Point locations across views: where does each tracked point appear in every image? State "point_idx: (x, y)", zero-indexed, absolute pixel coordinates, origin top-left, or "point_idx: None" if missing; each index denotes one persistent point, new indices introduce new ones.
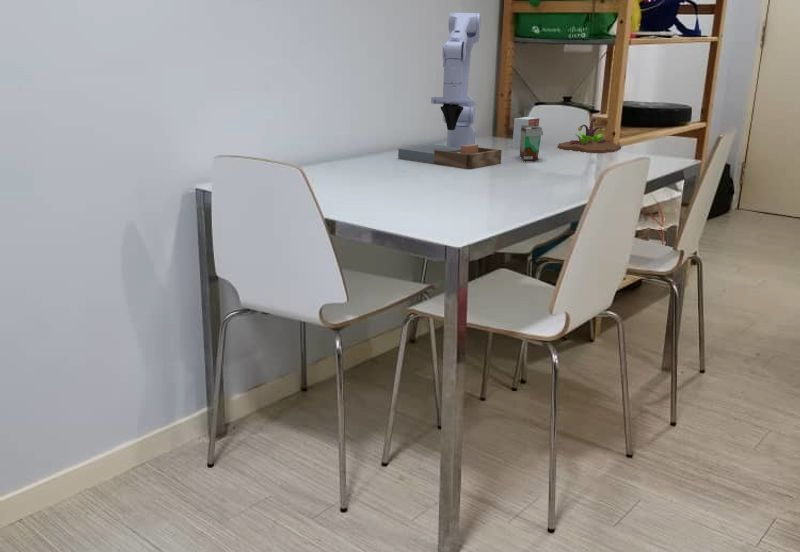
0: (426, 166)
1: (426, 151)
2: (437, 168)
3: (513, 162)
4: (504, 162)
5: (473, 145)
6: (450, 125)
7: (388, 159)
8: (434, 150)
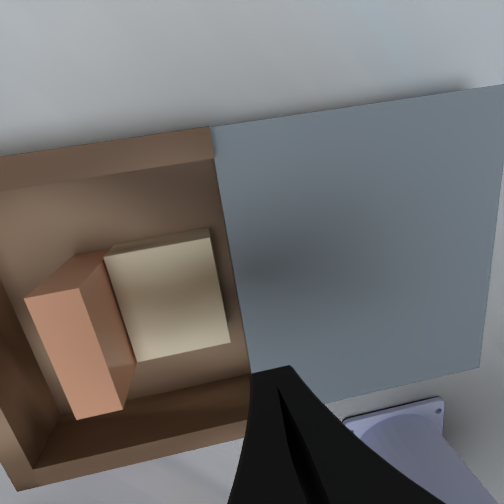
0: (150, 7)
1: (314, 156)
2: (43, 6)
3: (56, 485)
4: None
5: (57, 374)
6: (254, 400)
7: (481, 12)
8: (207, 126)
